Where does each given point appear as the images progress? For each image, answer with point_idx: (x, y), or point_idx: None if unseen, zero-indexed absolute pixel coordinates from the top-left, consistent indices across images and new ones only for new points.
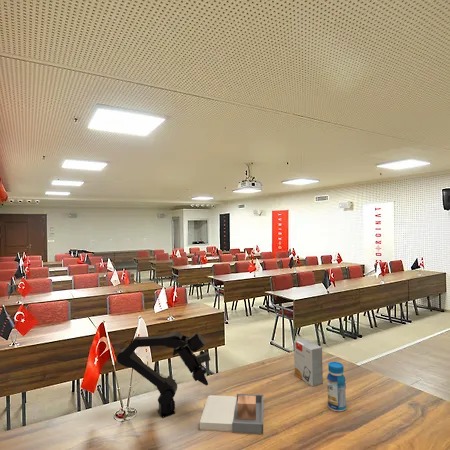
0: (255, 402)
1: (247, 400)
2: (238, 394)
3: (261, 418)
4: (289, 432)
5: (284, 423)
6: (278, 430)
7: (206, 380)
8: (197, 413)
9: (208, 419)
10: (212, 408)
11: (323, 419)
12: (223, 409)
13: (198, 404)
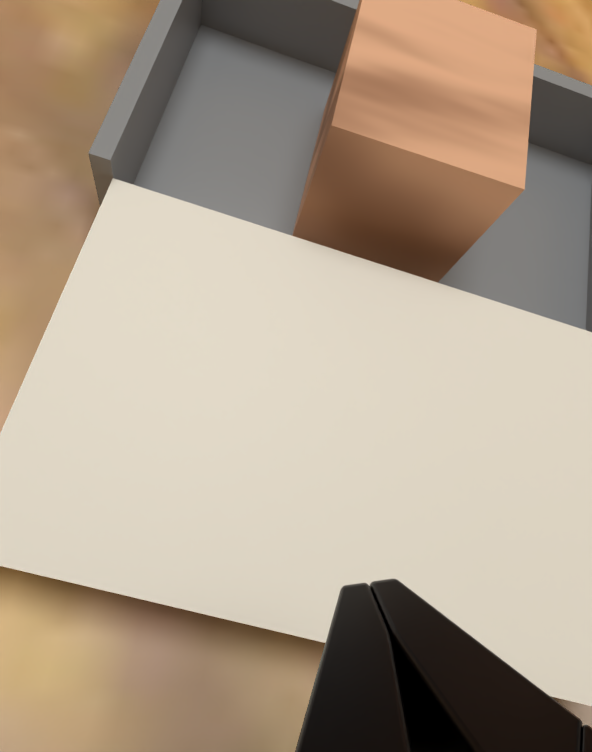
0: (508, 19)
1: (466, 73)
2: (116, 143)
3: (582, 92)
4: (573, 22)
5: (483, 7)
6: (556, 67)
7: (490, 658)
8: (250, 731)
9: (560, 589)
10: (337, 519)
11: None
12: (374, 384)
13: (16, 721)
